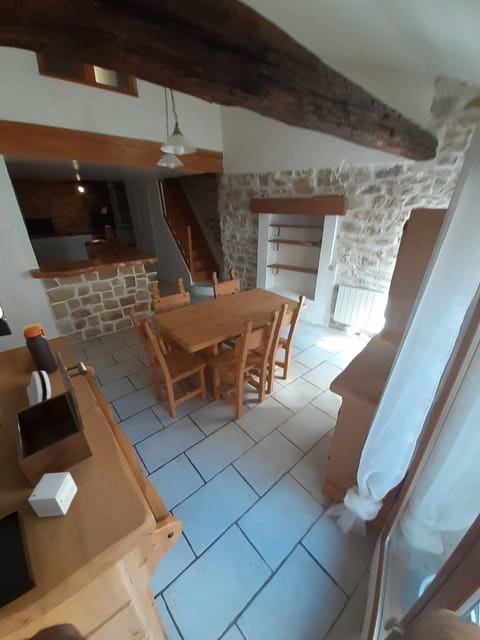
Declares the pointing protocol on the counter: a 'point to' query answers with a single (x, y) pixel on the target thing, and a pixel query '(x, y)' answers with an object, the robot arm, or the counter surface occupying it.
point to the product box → (53, 494)
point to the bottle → (40, 350)
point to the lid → (71, 385)
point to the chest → (49, 438)
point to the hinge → (38, 388)
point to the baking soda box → (32, 326)
